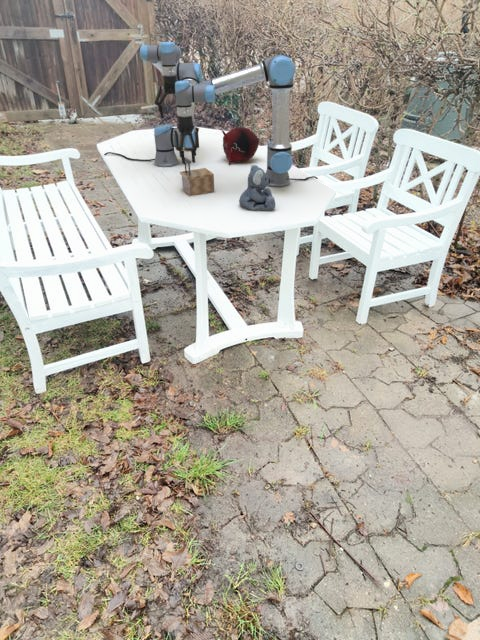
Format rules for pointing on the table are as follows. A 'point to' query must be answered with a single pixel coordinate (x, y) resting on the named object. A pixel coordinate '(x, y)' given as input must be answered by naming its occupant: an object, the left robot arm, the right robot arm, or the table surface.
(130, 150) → the table surface
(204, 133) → the table surface
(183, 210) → the table surface
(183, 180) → the chest
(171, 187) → the table surface
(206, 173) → the lid
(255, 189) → the koala plush
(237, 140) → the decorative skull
